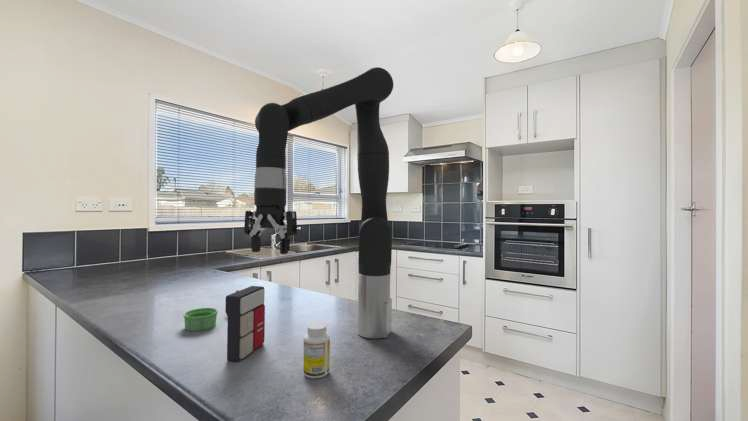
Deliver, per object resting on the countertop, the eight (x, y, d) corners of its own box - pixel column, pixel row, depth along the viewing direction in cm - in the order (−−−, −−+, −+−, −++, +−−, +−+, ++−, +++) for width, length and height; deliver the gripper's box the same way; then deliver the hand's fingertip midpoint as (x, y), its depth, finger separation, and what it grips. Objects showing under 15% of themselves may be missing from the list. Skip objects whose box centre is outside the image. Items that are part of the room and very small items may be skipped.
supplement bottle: (318, 364, 74) (318, 319, 74) (334, 372, 70) (335, 325, 70) (297, 373, 70) (298, 326, 70) (314, 382, 66) (315, 332, 66)
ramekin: (193, 335, 90) (194, 319, 90) (176, 328, 95) (177, 313, 95) (223, 325, 98) (224, 311, 98) (206, 319, 103) (206, 305, 103)
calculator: (240, 362, 74) (242, 297, 74) (224, 360, 75) (225, 296, 75) (266, 343, 85) (267, 286, 85) (251, 342, 86) (252, 285, 86)
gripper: (303, 187, 81) (302, 252, 81) (258, 188, 86) (257, 249, 86) (284, 185, 74) (284, 256, 74) (236, 186, 79) (236, 252, 79)
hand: (269, 252), depth 80 cm, fingers open, 8 cm apart
